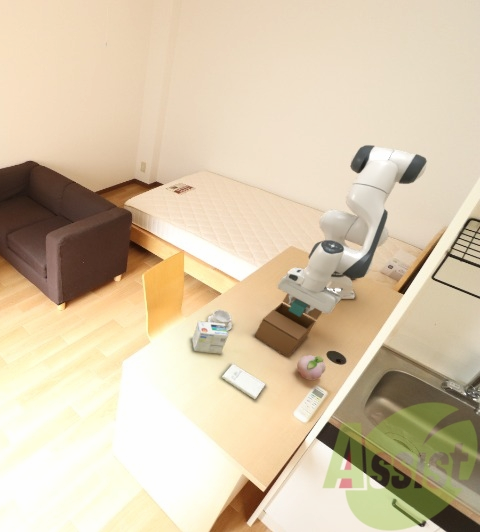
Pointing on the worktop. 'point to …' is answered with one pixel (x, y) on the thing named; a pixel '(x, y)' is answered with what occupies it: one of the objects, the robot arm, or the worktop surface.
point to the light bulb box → (209, 337)
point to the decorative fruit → (311, 367)
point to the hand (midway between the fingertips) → (298, 308)
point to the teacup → (221, 318)
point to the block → (298, 307)
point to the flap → (313, 313)
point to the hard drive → (243, 381)
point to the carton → (284, 329)
